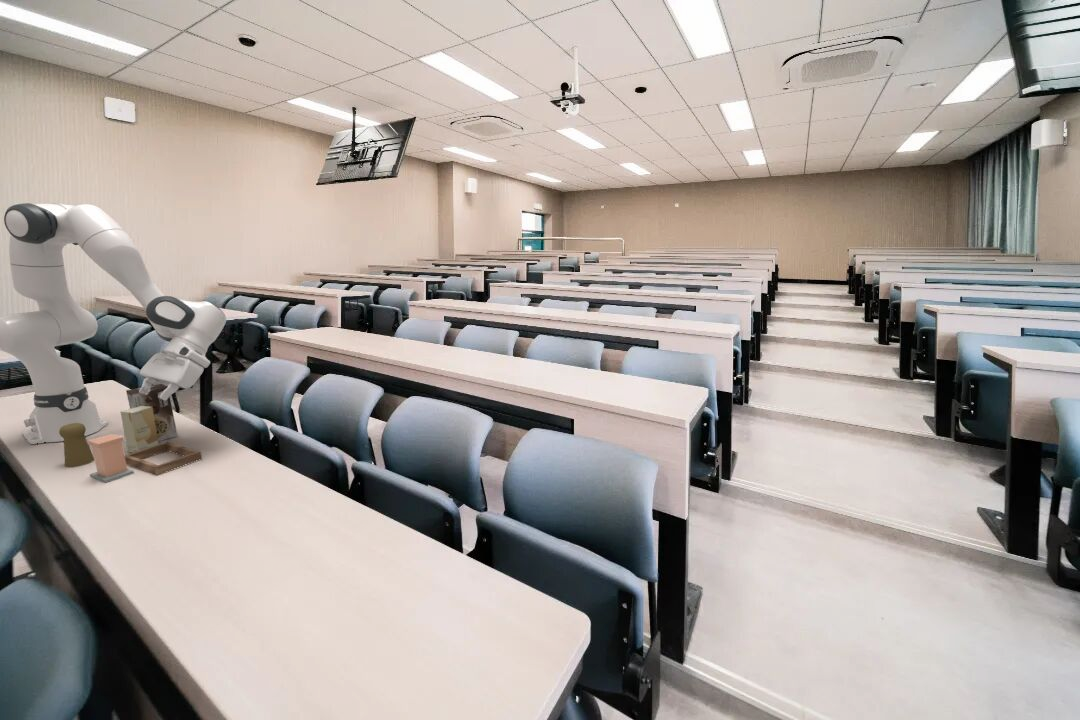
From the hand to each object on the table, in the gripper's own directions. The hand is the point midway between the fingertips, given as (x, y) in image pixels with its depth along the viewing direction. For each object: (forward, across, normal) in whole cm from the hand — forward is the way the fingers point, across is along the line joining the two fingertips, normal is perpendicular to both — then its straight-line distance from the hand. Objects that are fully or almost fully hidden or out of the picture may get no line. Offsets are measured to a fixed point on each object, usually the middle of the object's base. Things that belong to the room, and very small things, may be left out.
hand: (151, 396), depth 136 cm
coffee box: (+9, -16, +17) cm, 25 cm away
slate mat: (+21, +1, +3) cm, 21 cm away
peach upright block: (+21, +1, +3) cm, 21 cm away
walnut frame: (+14, +4, +11) cm, 18 cm away
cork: (+22, -16, +4) cm, 27 cm away
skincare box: (+13, -11, +13) cm, 21 cm away
